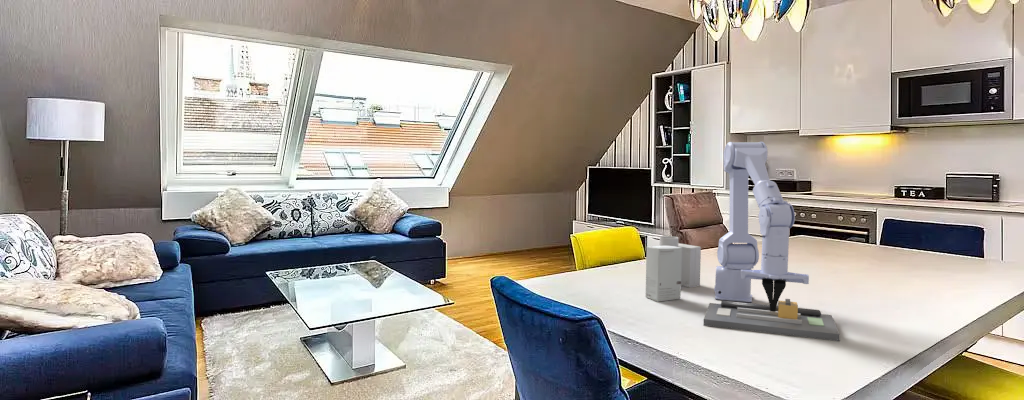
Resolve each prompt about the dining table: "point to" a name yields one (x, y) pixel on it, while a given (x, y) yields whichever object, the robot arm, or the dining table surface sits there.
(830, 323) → the grey base plate
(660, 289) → the skincare box
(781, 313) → the switch
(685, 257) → the white box
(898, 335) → the dining table surface
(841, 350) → the dining table surface
